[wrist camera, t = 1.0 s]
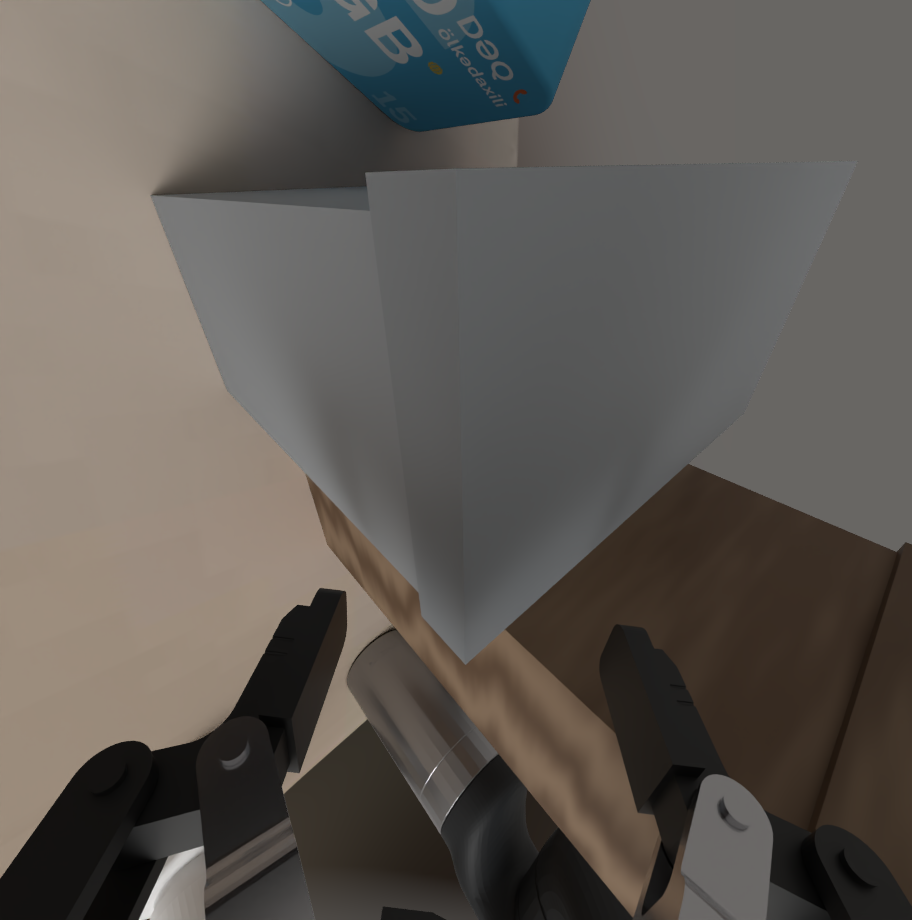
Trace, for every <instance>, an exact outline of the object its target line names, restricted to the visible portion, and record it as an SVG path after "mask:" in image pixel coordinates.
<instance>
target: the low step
mask: <svg viewBox="0 0 912 920" xmlns="http://www.w3.org/2000/svg"><path fill="white" fill-rule="evenodd" d="M856 164H857V161H839V162H783V163H728V164H677V165H676V164H675V165H674V164H673V165H620V166H567V167H565V166H564V167H510V168H456V169H433V170H411V171H388V172H365V176H366V184H367V186H359V187H336V188H312V189H289V190H265V191H242V192H218V193H195V194H172V195H151V198H152V200H153V203H154V205H155V208H156V210H157V213H158V215H159V218H160V221H161V223H162V226H163V228H164V231H165V233H166V236H167V238H168V241H169V244H170V246H171V249H172V251H173V254H174V256H175V259H176V261H177V264H178V266H179V269H180V272H181V274H182V277H183V279H184V282H185V284H186V287H187V289H188V292H189V294H190V297H191V300H192V302H193V305H194V307H195V310H196V312H197V315H198V317H199V320H200V322H201V325H202V328H203V330H204V333H205V335H206V338H207V340H208V343H209V345H210V348H211V350H212V353H213V356H214V358H215V361H216V363H217V366H218V368H219V371H220V373H221V376H222V379H223V381H224V384H225V386H226V389H227V391H228V392H229V393H230V394H231V395H232V396H233V397H234V398H235V399H236V400H237V402H238V403H239V404H240V405H241V406H242V407H243V408H244V409H245V410H246V411H247V412H248V413H249V414H250V415H251V416H252V417H253V418H254V419H255V421H256V422H257V423H258V424H259V425H260V426H261V427H262V428H263V429H264V430H265V431H266V432H267V433H268V434H269V435H270V436H271V437H272V438H273V440H274V441H275V442H276V443H277V444H278V445H279V446H280V447H281V448H282V449H283V450H284V451H285V452H286V453H287V454H288V455H289V456H290V457H291V459H292V460H293V461H294V462H295V463H296V464H297V465H298V466H299V467H300V468H301V469H302V470H303V471H304V472H305V473H306V474H307V475H308V476H309V478H310V479H311V480H312V481H313V482H314V483H315V484H316V485H317V486H318V487H319V488H320V489H321V490H322V491H323V492H324V493H325V494H326V495H327V497H328V498H329V499H330V500H331V501H332V502H333V503H334V504H335V505H336V506H337V507H338V508H339V509H340V510H341V511H342V512H343V513H344V514H345V516H346V517H347V518H348V519H349V520H350V521H351V522H352V523H353V524H354V525H355V526H356V527H357V528H358V529H359V530H360V531H361V532H362V533H363V535H364V536H365V537H366V538H367V539H368V540H369V541H370V542H371V543H372V544H373V545H374V546H375V547H376V548H377V549H378V550H379V551H380V552H381V554H382V555H383V556H384V557H385V558H386V559H387V560H388V561H389V562H390V563H391V564H392V565H393V566H394V567H395V568H396V569H397V570H398V571H399V573H400V574H401V575H402V576H403V577H404V578H405V579H406V580H407V581H408V582H409V583H410V584H411V585H412V586H413V587H414V588H415V589H416V590H417V592H418V593H419V600H420V608H421V616H422V617H423V618H424V619H425V621H426V622H427V623H428V624H429V625H430V626H431V627H432V628H433V629H434V631H435V632H436V633H437V634H438V635H439V636H440V637H441V638H442V639H443V640H444V642H445V643H446V644H447V645H448V646H449V647H450V648H451V649H452V650H453V652H454V653H455V654H456V655H457V656H458V657H459V658H460V659H461V660H462V662H463V663H464V664H465V665H466V664H467V663H468V662H469V661H470V660H472V659H473V658H474V657H475V656H476V655H477V654H478V653H479V652H480V651H481V650H483V649H484V648H485V647H486V646H487V645H488V644H489V643H490V642H491V641H493V640H494V639H495V638H496V637H497V636H498V635H499V634H500V633H501V632H503V631H504V630H505V629H506V628H507V627H508V626H509V625H510V624H511V623H512V622H514V621H515V620H516V619H517V618H518V617H519V616H520V615H521V614H522V613H524V612H525V611H526V610H527V609H528V608H529V607H530V606H531V605H532V604H534V603H535V602H536V601H537V600H538V599H539V598H540V597H541V596H542V595H543V594H545V593H546V592H547V591H548V590H549V589H550V588H551V587H552V586H553V585H555V584H556V583H557V582H558V581H559V580H560V579H561V578H562V577H563V576H565V575H566V574H567V573H568V572H569V571H570V570H571V569H572V568H573V567H574V566H576V565H577V564H578V563H579V562H580V561H581V560H582V559H583V558H584V557H586V556H587V555H588V554H589V553H590V552H591V551H592V550H593V549H594V548H596V547H597V546H598V545H599V544H600V543H601V542H602V541H603V540H604V539H605V538H607V537H608V536H609V535H610V534H611V533H612V532H613V531H614V530H615V529H617V528H618V527H619V526H620V525H621V524H622V523H623V522H624V521H625V520H627V519H628V518H629V517H630V516H631V515H632V514H633V513H634V512H635V511H636V510H638V509H639V508H640V507H641V506H642V505H643V504H644V503H645V502H646V501H648V500H649V499H650V498H651V497H652V496H653V495H654V494H655V493H656V492H658V491H659V490H660V489H661V488H662V487H663V486H664V485H665V484H666V483H667V482H669V481H670V480H671V479H672V478H673V477H674V476H675V475H676V474H677V473H679V472H680V471H681V470H682V469H683V468H684V467H685V466H686V465H687V464H689V463H690V462H691V461H692V460H693V459H694V458H695V457H696V456H697V455H698V454H700V453H701V452H702V451H703V450H704V449H705V448H706V447H707V446H708V445H709V444H711V443H712V442H713V441H714V440H715V439H716V438H717V437H718V436H720V434H722V433H723V432H724V431H725V430H726V429H727V428H728V427H729V426H731V425H732V424H733V423H734V422H735V421H736V420H737V419H738V418H739V417H740V416H742V415H743V414H744V412H745V410H746V408H747V406H748V403H749V401H750V399H751V397H752V394H753V392H754V390H755V388H756V386H757V383H758V381H759V379H760V377H761V375H762V372H763V370H764V368H765V365H766V363H767V361H768V359H769V357H770V355H771V352H772V350H773V348H774V346H775V344H776V341H777V339H778V337H779V334H780V332H781V330H782V328H783V326H784V324H785V321H786V319H787V317H788V315H789V313H790V310H791V308H792V306H793V304H794V301H795V299H796V297H797V295H798V293H799V290H800V288H801V286H802V284H803V282H804V279H805V277H806V275H807V273H808V270H809V268H810V266H811V264H812V262H813V259H814V257H815V255H816V253H817V251H818V248H819V246H820V244H821V242H822V239H823V237H824V235H825V233H826V231H827V228H828V226H829V224H830V221H831V219H832V217H833V215H834V213H835V211H836V208H837V206H838V204H839V202H840V199H841V197H842V195H843V193H844V191H845V188H846V186H847V184H848V182H849V180H850V177H851V175H852V173H853V171H854V169H855V166H856Z"/></svg>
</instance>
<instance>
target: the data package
mask: <svg viewBox="0 0 912 920" xmlns="http://www.w3.org/2000/svg"><path fill="white" fill-rule="evenodd" d="M261 1H262V2H263V3H264V4H265V5H266V6H267V7H269V8H270V9H271V10H272V11H273V12H274V13H275V14H276V15H277V16H278V17H279V18H281V19H282V20H283V21H284V22H285V23H286V24H287V25H288V26H289V27H290V28H292V29H293V30H294V31H295V32H296V33H297V34H298V35H299V36H300V37H301V38H302V39H304V40H305V41H306V42H307V43H308V44H309V45H310V46H311V47H312V48H313V49H315V50H316V51H317V52H318V53H319V54H320V55H321V56H322V57H323V58H324V59H326V60H327V61H328V62H329V63H330V64H331V65H332V66H333V67H334V68H335V69H336V70H338V71H339V72H340V73H341V74H342V75H343V76H344V77H345V78H346V79H347V80H349V81H350V82H351V83H352V84H353V85H354V86H355V87H356V88H357V89H358V90H359V91H361V92H362V93H363V94H364V95H365V96H366V97H367V98H368V99H369V100H370V101H372V102H373V103H374V104H375V105H376V106H377V107H378V108H379V109H380V110H381V111H382V112H384V113H385V114H386V115H387V116H388V117H389V118H390V119H392V120H393V121H394V122H396V123H397V124H399V125H401V126H403V127H405V128H407V129H409V130H413V131H418V132H421V131H429V130H436V129H443V128H450V127H456V126H463V125H470V124H477V123H484V122H491V121H498V120H505V119H512V118H518V117H525V116H532V115H537V114H540V113H542V112H544V111H545V110H546V109H548V107H549V106H550V105H551V103H552V101H553V99H554V96H555V93H556V90H557V88H558V85H559V83H560V80H561V77H562V75H563V72H564V69H565V66H566V64H567V61H568V59H569V56H570V54H571V51H572V48H573V46H574V43H575V40H576V37H577V35H578V32H579V29H580V27H581V24H582V22H583V19H584V16H585V14H586V11H587V9H588V6H589V3H590V1H591V0H261Z"/></svg>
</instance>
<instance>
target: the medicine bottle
mask: <svg viewBox="0 0 912 920" xmlns="http://www.w3.org/2000/svg"><path fill="white" fill-rule="evenodd" d="M205 884H206V865H205V855H204V846H201V847H198V848H194V849H191V850H188V851H184V852H181V853H177V854H174V855H171V856H168V858H167V860H166V863H165V865H164V867H163V869H162V871H161V873H160V875H159V878H158V880H157V882H156V884H155V886H154V888H153V890H152V893H151V895H150V897H149V899H148V901H147V903H146V905H145V908H144V910H143V912H142V914H141V916H140V918H139V920H145V919H148V918H150V920H205V908H204V887H205Z"/></svg>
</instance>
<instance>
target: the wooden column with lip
mask: <svg viewBox="0 0 912 920" xmlns="http://www.w3.org/2000/svg"><path fill="white" fill-rule="evenodd" d="M306 477H307V480H308V483H309V486H310V490H311V493H312V496H313V499H314V503H315V506H316V509H317V512H318V516H319V519H320V522H321V525H322V529H323V532H324V535H325V538H326V542H327V545H328V546H329V547H330V549H331V550H332V551H333V552H334V554H335V555H336V556H337V557H338V558H339V560H340V561H341V562H342V563H343V565H344V566H345V567H346V568H347V569H348V571H349V572H350V573H351V574H352V576H353V577H354V578H355V579H356V580H357V582H358V583H359V584H360V585H361V587H362V588H363V589H364V590H365V591H366V593H367V594H368V595H369V596H370V598H371V599H372V600H373V601H374V602H375V604H376V605H377V606H378V607H379V608H380V610H381V611H382V612H383V613H384V615H385V616H386V617H387V618H388V619H389V621H390V622H391V623H392V624H393V626H394V627H395V628H396V629H397V630H398V632H399V633H400V634H401V635H402V637H403V638H404V639H405V640H406V641H407V643H408V644H409V645H410V646H411V648H412V649H413V650H414V651H415V652H416V654H417V655H418V656H419V657H420V659H421V660H422V661H423V662H424V663H425V665H426V666H427V667H428V668H429V670H430V671H431V672H432V673H433V674H434V676H435V677H436V678H437V679H438V681H439V682H440V683H441V684H442V685H443V687H444V688H445V689H446V690H447V692H448V693H449V694H450V695H451V696H452V698H453V699H454V700H455V701H456V702H457V704H458V705H459V706H460V707H461V709H462V710H463V711H464V712H465V713H466V715H467V716H468V717H469V718H470V720H471V721H472V722H473V723H474V724H475V726H476V727H477V728H478V729H479V731H480V732H481V733H482V734H483V735H484V737H485V738H486V739H487V740H488V742H489V743H490V744H491V745H492V746H493V748H494V749H495V750H496V751H497V753H498V754H499V755H500V756H501V757H502V759H503V760H504V761H505V762H506V764H507V765H508V766H509V767H510V768H511V770H512V771H513V772H514V773H515V775H516V776H517V777H518V778H519V779H520V781H521V782H522V783H523V784H524V786H525V787H526V788H527V789H528V790H529V792H530V793H531V794H532V795H533V796H534V798H535V799H536V800H537V801H538V803H539V804H540V805H541V806H542V807H543V809H544V810H545V811H546V812H547V814H548V815H549V816H550V817H551V818H552V820H553V821H554V822H555V823H556V824H557V826H558V827H559V828H560V829H561V831H562V832H563V833H564V834H565V836H566V837H567V838H568V839H569V840H570V842H571V843H572V844H573V845H574V847H575V848H576V849H577V850H578V851H579V853H580V854H581V855H582V856H583V858H584V859H585V860H586V861H587V862H588V864H589V865H590V866H591V867H592V869H593V870H594V871H595V872H596V873H597V875H598V876H599V877H600V878H601V880H602V881H603V882H604V883H605V884H606V886H607V887H608V888H609V889H610V890H611V892H612V893H613V894H614V895H615V897H616V898H617V899H618V900H619V901H620V903H621V904H622V905H623V906H624V908H625V909H626V910H627V911H628V912H629V914H630V915H631V916H632V917H634V914H635V911H636V908H637V904H638V901H639V898H640V894H641V891H642V888H643V884H644V881H645V878H646V874H647V871H648V868H649V864H650V861H651V858H652V854H653V851H654V848H655V844H656V841H657V838H658V835H659V829H658V826H657V823H656V820H655V816H654V815H650V814H642V813H638V812H637V809H636V805H635V802H634V798H633V794H632V791H631V787H630V783H629V780H628V776H627V773H626V769H625V765H624V762H623V758H622V755H621V751H620V747H619V744H618V740H617V736H616V733H615V729H614V726H613V722H612V718H611V715H610V711H609V708H608V704H607V700H606V697H605V693H604V690H603V686H602V682H601V678H600V672H599V662H600V657H601V654H602V652H603V650H604V647H605V645H606V643H607V641H608V638H609V636H610V634H611V632H612V629H613V627H614V626H615V625H616V624H619V625H627V626H635V627H642V628H644V629H645V630H646V631H647V633H648V635H649V638H650V640H651V642H652V645H653V647H654V648H655V649H662V650H663V651H664V652H665V653H666V654H667V656H668V657H669V658H670V659H671V660H672V661H673V663H674V664H675V665H676V666H677V668H678V670H679V672H680V674H681V676H682V678H683V680H684V683H685V685H686V690H688V691H689V693H690V695H691V697H692V700H693V702H694V703H693V704H694V706H696V708H697V710H698V712H699V715H700V717H701V719H702V721H703V723H704V725H705V727H706V730H707V732H708V734H709V736H710V738H711V740H712V742H713V745H714V747H715V749H716V751H717V753H718V755H719V757H720V760H721V762H722V764H723V766H724V768H725V770H726V772H727V774H728V775H729V777H730V778H731V779H733V780H735V781H736V782H738V783H739V784H741V785H742V786H743V787H744V788H746V789H747V790H748V791H749V792H750V793H751V794H752V795H753V796H754V797H755V799H756V800H757V801H758V802H759V804H760V805H761V806H762V808H763V810H765V811H767V812H769V813H771V814H773V815H775V816H777V817H779V818H781V819H783V820H786V821H788V822H790V823H792V824H794V825H796V826H798V827H800V828H802V829H805V830H807V831H809V832H811V833H812V832H814V831H815V830H816V829H817V828H819V827H820V826H822V825H834V826H838V827H840V828H843V829H845V830H847V831H848V832H850V833H852V834H853V835H855V836H856V837H858V838H859V839H860V840H862V841H863V842H864V843H865V844H866V845H868V846H869V847H870V848H871V849H872V850H873V851H874V852H875V853H876V854H877V855H878V857H879V858H880V859H881V860H882V861H883V862H884V864H885V865H886V866H887V868H888V869H889V870H890V872H891V873H892V875H893V876H894V878H895V880H896V881H897V883H898V885H899V886H900V888H901V889H902V891H903V893H904V894H905V896H906V898H907V899H908V901H909V902H910V904H911V906H912V545H911V544H909V543H905V544H904V545H903V546H902V547H901V548H900V549H899V550H898V551H897V552H895V551H893V550H890V549H888V548H886V547H883V546H881V545H879V544H876V543H874V542H872V541H869V540H867V539H864V538H862V537H860V536H857V535H855V534H853V533H850V532H848V531H845V530H843V529H841V528H838V527H836V526H833V525H831V524H829V523H827V522H824V521H822V520H820V519H817V518H815V517H812V516H810V515H807V514H805V513H803V512H801V511H798V510H796V509H793V508H791V507H789V506H787V505H784V504H782V503H779V502H777V501H775V500H772V499H770V498H768V497H765V496H763V495H760V494H758V493H756V492H753V491H751V490H748V489H746V488H744V487H741V486H739V485H737V484H735V483H732V482H730V481H727V480H725V479H723V478H720V477H718V476H716V475H713V474H711V473H708V472H706V471H704V470H701V469H699V468H697V467H694V466H692V465H690V464H687V465H686V466H685V467H684V468H683V469H682V470H681V471H680V472H679V473H677V474H676V475H675V476H674V477H673V478H672V479H671V480H670V481H669V482H667V483H666V484H665V485H664V486H663V487H662V488H661V489H660V490H659V491H658V492H656V493H655V494H654V495H653V496H652V497H651V498H650V499H649V500H648V501H646V502H645V503H644V504H643V505H642V506H641V507H640V508H639V509H638V510H636V511H635V512H634V513H633V514H632V515H631V516H630V517H629V518H628V519H627V520H625V521H624V522H623V523H622V524H621V525H620V526H619V527H618V528H617V529H615V530H614V531H613V532H612V533H611V534H610V535H609V536H608V537H607V538H605V539H604V540H603V541H602V542H601V543H600V544H599V545H598V546H597V547H596V548H594V549H593V550H592V551H591V552H590V553H589V554H588V555H587V556H586V557H584V558H583V559H582V560H581V561H580V562H579V563H578V564H577V565H576V566H574V567H573V568H572V569H571V570H570V571H569V572H568V573H567V574H566V575H565V576H563V577H562V578H561V579H560V580H559V581H558V582H557V583H556V584H555V585H553V586H552V587H551V588H550V589H549V590H548V591H547V592H546V593H545V594H543V595H542V596H541V597H540V598H539V599H538V600H537V601H536V602H535V603H534V604H532V605H531V606H530V607H529V608H528V609H527V610H526V611H525V612H524V613H522V614H521V615H520V616H519V617H518V618H517V619H516V620H515V621H514V622H512V623H511V624H510V625H509V626H508V627H507V628H506V629H505V630H504V631H503V632H501V633H500V634H499V635H498V636H497V637H496V638H495V639H494V640H493V641H491V642H490V643H489V644H488V645H487V646H486V647H485V648H484V649H483V650H481V651H480V652H479V653H478V654H477V655H476V656H475V657H474V658H473V659H472V660H470V661H469V662H468V663H467V664H466V665H465V664H464V663H463V662H462V660H461V659H460V658H459V657H458V656H457V655H456V654H455V653H454V652H453V650H452V649H451V648H450V647H449V646H448V645H447V644H446V643H445V642H444V640H443V639H442V638H441V637H440V636H439V635H438V634H437V633H436V632H435V631H434V629H433V628H432V627H431V626H430V625H429V624H428V623H427V622H426V621H425V619H424V618H423V617H422V616H421V608H420V600H419V593H418V592H417V590H416V589H415V588H414V587H413V586H412V585H411V584H410V583H409V582H408V581H407V580H406V579H405V578H404V577H403V576H402V575H401V574H400V573H399V571H398V570H397V569H396V568H395V567H394V566H393V565H392V564H391V563H390V562H389V561H388V560H387V559H386V558H385V557H384V556H383V555H382V554H381V552H380V551H379V550H378V549H377V548H376V547H375V546H374V545H373V544H372V543H371V542H370V541H369V540H368V539H367V538H366V537H365V536H364V535H363V533H362V532H361V531H360V530H359V529H358V528H357V527H356V526H355V525H354V524H353V523H352V522H351V521H350V520H349V519H348V518H347V517H346V516H345V514H344V513H343V512H342V511H341V510H340V509H339V508H338V507H337V506H336V505H335V504H334V503H333V502H332V501H331V500H330V499H329V498H328V497H327V495H326V494H325V493H324V492H323V491H322V490H321V489H320V488H319V487H318V486H317V485H316V484H315V483H314V482H313V481H312V480H311V479H310V478H309V476H308V475H307V474H306Z"/></svg>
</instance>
